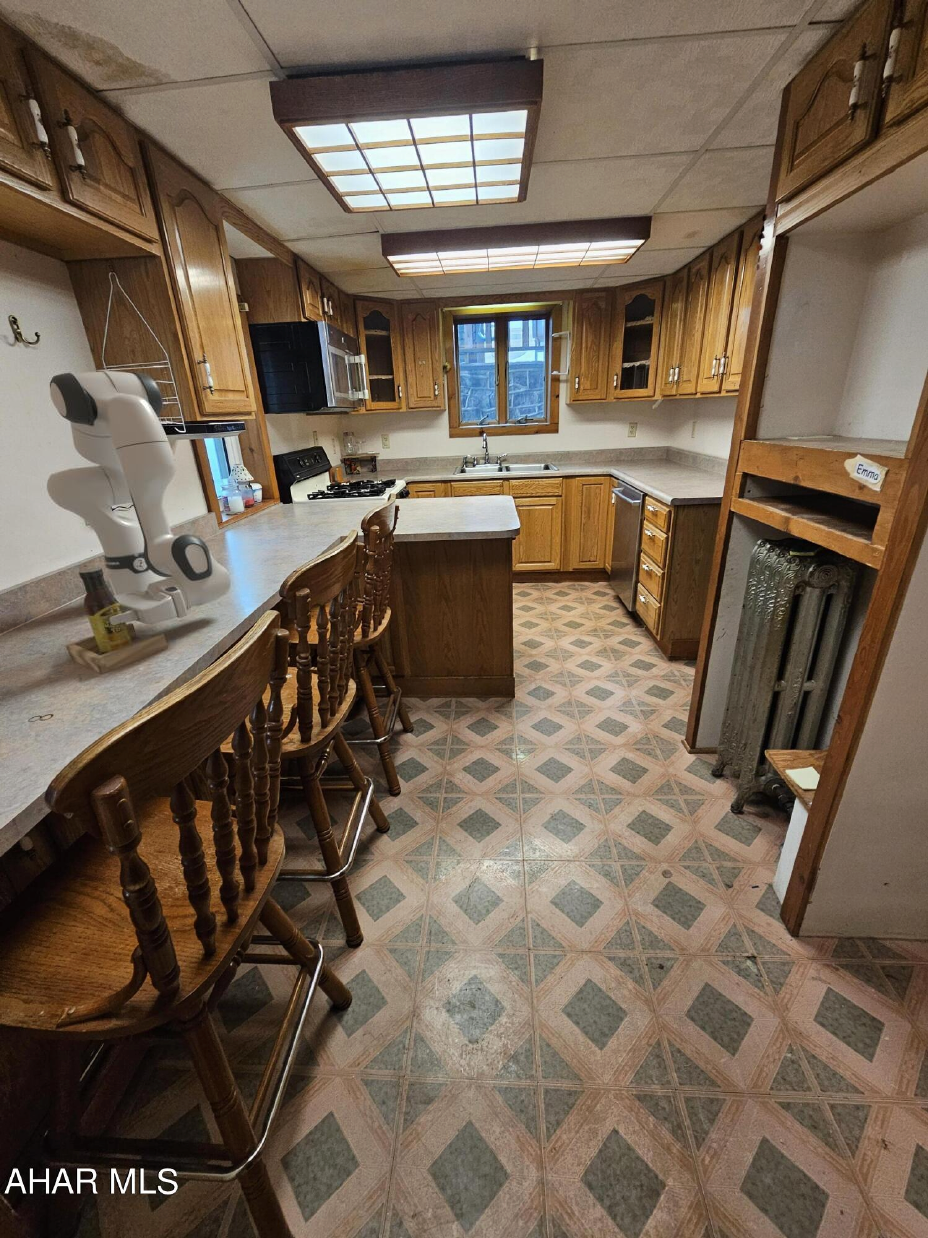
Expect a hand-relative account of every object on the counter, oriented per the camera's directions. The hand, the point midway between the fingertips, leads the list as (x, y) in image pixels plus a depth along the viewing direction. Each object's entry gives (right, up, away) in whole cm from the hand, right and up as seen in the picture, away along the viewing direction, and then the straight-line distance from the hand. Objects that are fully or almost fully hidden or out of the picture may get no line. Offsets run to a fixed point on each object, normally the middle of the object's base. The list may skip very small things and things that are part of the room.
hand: (101, 618), depth 107 cm
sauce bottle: (+1, -8, +4) cm, 9 cm away
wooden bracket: (+1, -8, +4) cm, 9 cm away
